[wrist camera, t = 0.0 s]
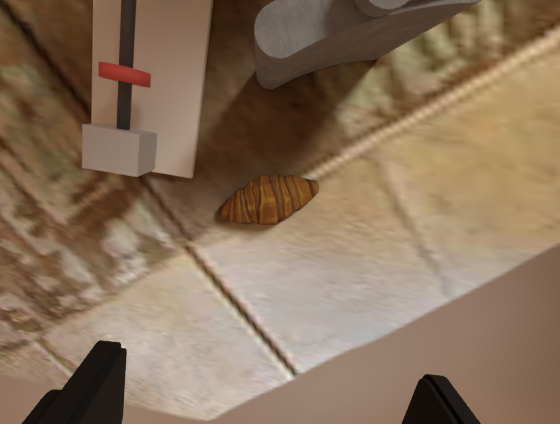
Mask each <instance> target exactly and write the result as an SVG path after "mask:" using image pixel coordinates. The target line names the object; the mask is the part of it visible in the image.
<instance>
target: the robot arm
mask: <svg viewBox="0 0 560 424" xmlns="http://www.w3.org/2000/svg"><path fill="white" fill-rule="evenodd" d="M126 354H127V350H126V349H125V348H121V343H119V342H111V341H101V340H100V341H98V342H97V343H96V344H95V346H94V347H93V348H92V350H91V351H90V352H89V354H88V355H87V356H86V358H85V359H84V360H83V362H82V363H81V364H80V366H79V367H78V368H77V370H76V371H75V372H74V374H73V375H72V376H71V378H70V379H69V380H68V382H67V383H66V385H65V386H64V387H63V389H62V390H56V389H55V390H51V391H49V392H48V393H47V394H45V396H44V397H43V398H42V399H41V400H40V402H39V403H38V404H37V405H36V406H35V408H34V409H33V410H32V411H31V413H30V414H29V415H28V416H27V418H26V419H25V420H24V422H23V423H22V424H121V423H122V418H123V405H124V388H125V371H126ZM402 424H480V422H479V421H478V420H477V418H476V417H475V415H474V414H473V413H472V412H471V410H470V409H469V407H468V406H467V405H466V403H465V402H464V401H463V399H462V398H461V397H460V395H459V394H458V393H457V391H456V390H455V389H454V387H453V386H452V384H451V383H450V382H449V380H448V379H447V378H446V377H444V376H439V375H430V374H426V375H424V376H423V378H422V379H420V380H419V381H418V384H417V386H416V389H415V391H414V394H413V396H412V399H411V401H410V404H409V406H408V409H407V411H406V414H405V416H404V419H403V422H402Z"/></svg>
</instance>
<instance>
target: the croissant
mask: <svg viewBox="0 0 560 424" xmlns="http://www.w3.org/2000/svg"><path fill="white" fill-rule="evenodd" d="M318 191H319V186H318V184H317V182H316V181H313V180H309V179H305V178H301V177H296V176H292V175H290V176H286V177H282V176H279V175H261V176H260V177H258V178H256V179H254V180H252V181H250V182H249V183H248V184H247V185H246V186H245V187H244V188H242V189H239V190H237V191H236V192H235V193H234V194H233V195H232V196H231V197H229V198H228V199H227V200H226V201H225V202H224V203H223V204H222V205H221V206H220V207H219V214H220V215H221V217H222V219H225V220H229V221H234V222H239V223H244V224H251V223H258V224H261V225H276V224H278V223H280V222H281V221H283V220H285V219H286V218H288V217H289V216H290V215H291V214H292V213H293V212H294V211H298V210H300V209H301V208H303V207H304V206H305V205H306V204H307V203H308V202H309V201H310V200H311V199H312V198H313V197H314V196H315V195H316V194H317V193H318Z"/></svg>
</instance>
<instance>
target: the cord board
mask: <svg viewBox="0 0 560 424" xmlns="http://www.w3.org/2000/svg"><path fill="white" fill-rule="evenodd" d="M212 9H213V0H93V49H92V114H91V124H82V168H87V169H92V170H98V171H104V172H110V173H116V174H122V175H128V176H134V177H138V176H141V175H143V174H145V173H148V172H150V171H151V172H157V173H163V174H169V175H175V176H181V177H186V178H193V177H194V170H195V161H196V152H197V143H198V134H199V125H200V116H201V108H202V99H203V90H204V81H205V72H206V63H207V54H208V45H209V36H210V27H211V18H212Z"/></svg>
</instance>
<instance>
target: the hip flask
mask: <svg viewBox="0 0 560 424" xmlns="http://www.w3.org/2000/svg"><path fill="white" fill-rule="evenodd" d="M479 1H481V0H275V1H273V2H271V3H270V4H268V5H266V6H265V7H264V8H263V9H262V10H261V11H260V12H259V14H258V15H257V17H256V20H255V25H254V39H255V59H256V77H257V81H258V83H259V84H260V85H261V86H262V87H263V88H265V89H268V90H272V89H275V88H277V87H279V86H280V85H282V84H284V83H286V82H288V81H290V80H293V79H295V78H297V77H300V76H302V75H305V74H307V73H310V72H313V71H316V70H320V69H323V68H327V67H330V66H334V65H338V64H344V63H349V62H356V61H368V60H375V59H377V58H379V57H381V56H383V55H385V54H386V53H388V52H390V51H392V50H394V49H395V48H397V47H399V46H401V45H403V44H404V43H406V42H408V41H410V40H411V39H413V38H415V37H417V36H419V35H420V34H422V33H424V32H426V31H428V30H429V29H431V28H433V27H435V26H437V25H438V24H440V23H442V22H444V21H445V20H447V19H449V18H451V17H453V16H454V15H456V14H458V13H460V12H462V11H463V10H465V9H467V8H469V7H470V6H472V5H474V4H476V3H478V2H479Z"/></svg>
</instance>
